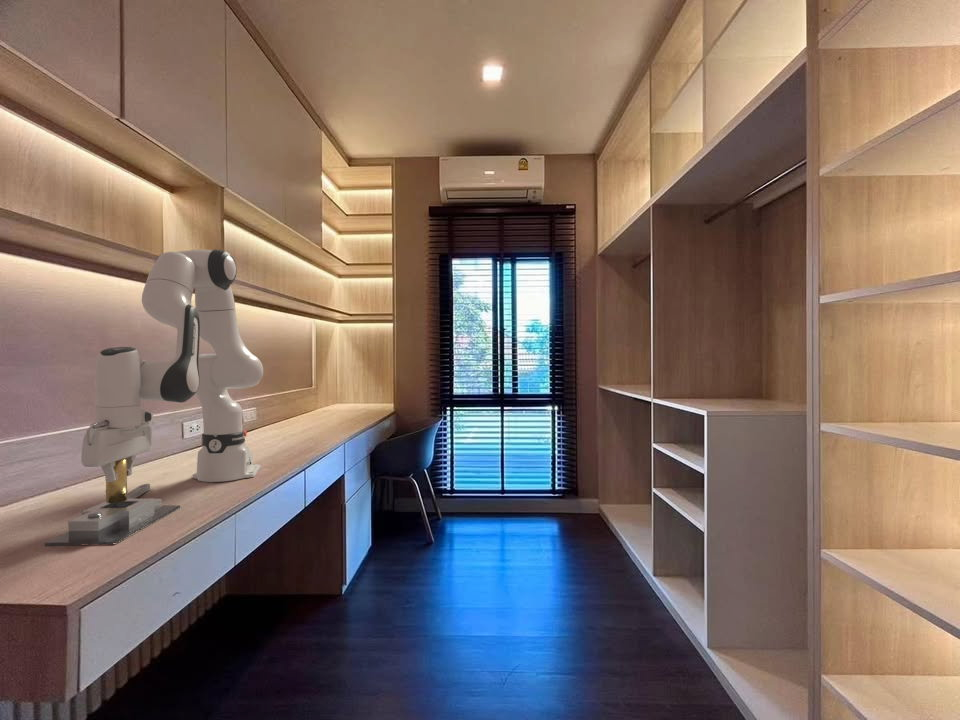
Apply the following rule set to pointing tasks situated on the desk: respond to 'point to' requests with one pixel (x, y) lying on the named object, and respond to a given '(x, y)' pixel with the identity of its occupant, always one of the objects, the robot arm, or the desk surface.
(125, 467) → the brass pin
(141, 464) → the desk surface
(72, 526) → the sliding bolt latch
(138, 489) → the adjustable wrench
